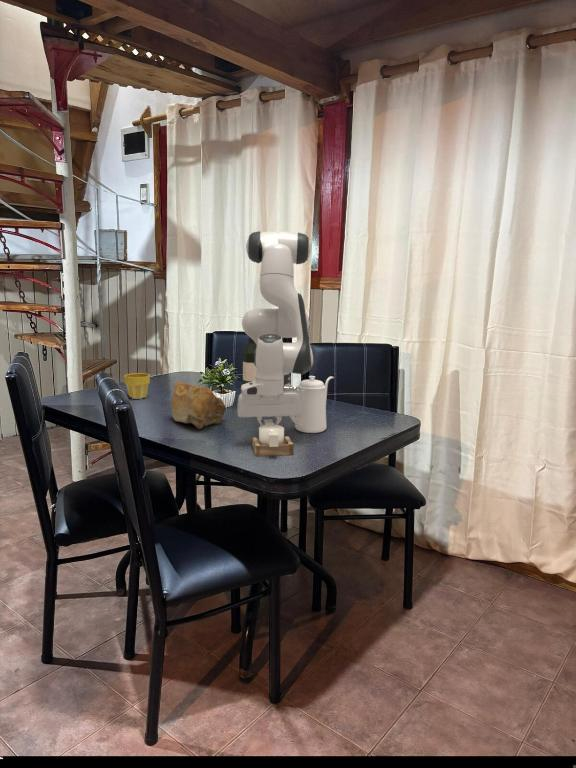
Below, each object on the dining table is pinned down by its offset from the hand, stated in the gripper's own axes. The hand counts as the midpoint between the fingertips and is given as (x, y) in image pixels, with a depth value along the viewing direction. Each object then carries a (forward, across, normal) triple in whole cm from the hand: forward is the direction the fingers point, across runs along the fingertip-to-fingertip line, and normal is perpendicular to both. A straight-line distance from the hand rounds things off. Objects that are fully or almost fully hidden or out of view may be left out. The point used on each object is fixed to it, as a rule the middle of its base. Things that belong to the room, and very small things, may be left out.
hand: (269, 429), depth 182 cm
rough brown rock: (+5, +20, -26) cm, 33 cm away
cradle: (+4, 0, +7) cm, 8 cm away
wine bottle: (+5, -5, -81) cm, 82 cm away
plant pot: (+5, +45, -68) cm, 81 cm away
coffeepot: (+4, -17, -13) cm, 22 cm away
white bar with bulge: (+4, 0, +6) cm, 8 cm away
